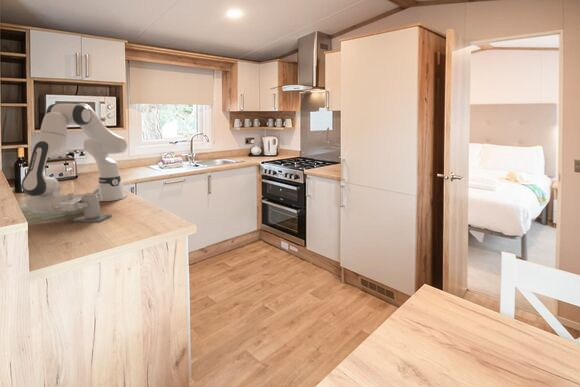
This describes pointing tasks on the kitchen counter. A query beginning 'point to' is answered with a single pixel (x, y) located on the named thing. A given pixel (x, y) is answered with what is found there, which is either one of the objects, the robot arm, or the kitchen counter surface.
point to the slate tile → (99, 219)
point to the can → (91, 206)
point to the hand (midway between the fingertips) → (92, 202)
